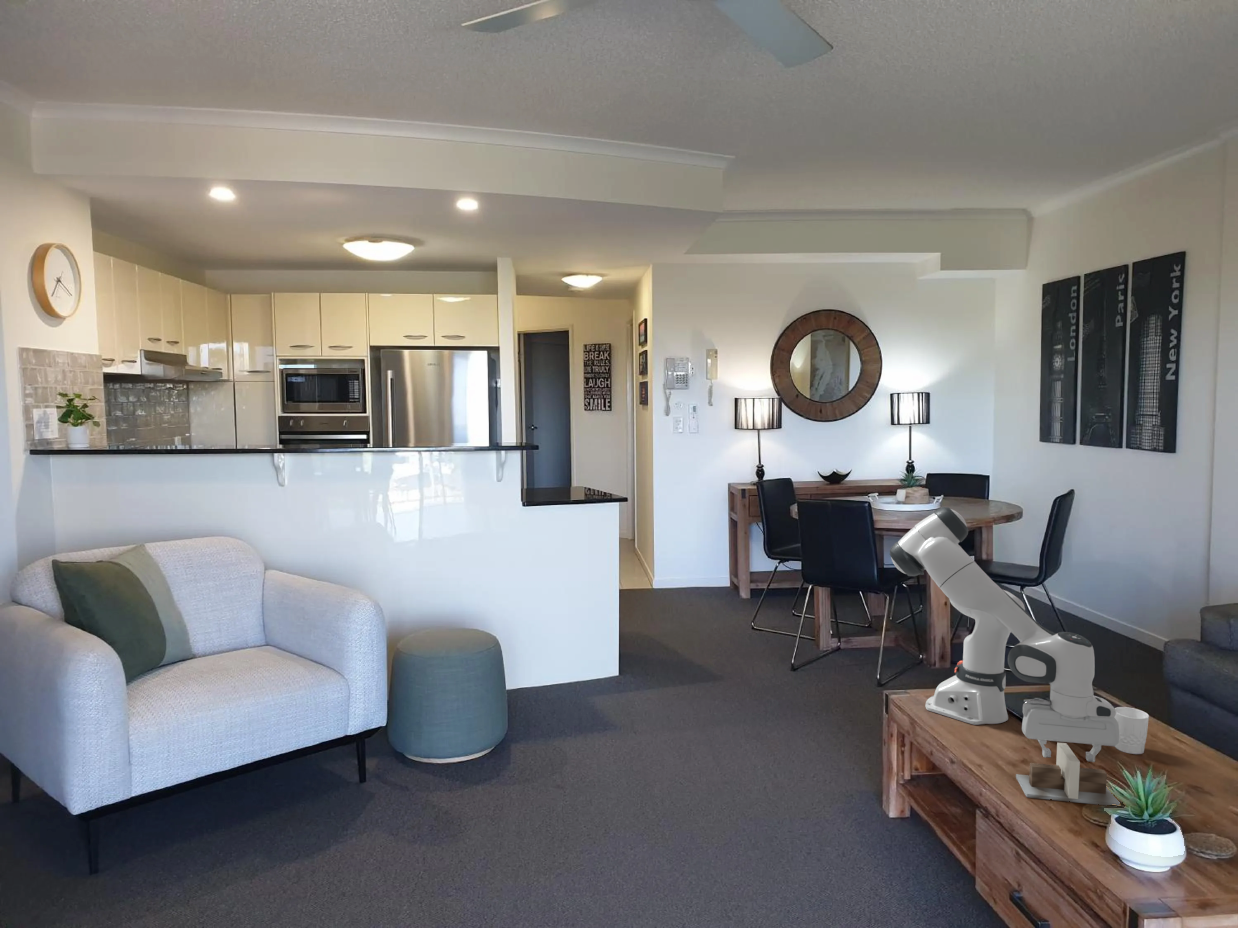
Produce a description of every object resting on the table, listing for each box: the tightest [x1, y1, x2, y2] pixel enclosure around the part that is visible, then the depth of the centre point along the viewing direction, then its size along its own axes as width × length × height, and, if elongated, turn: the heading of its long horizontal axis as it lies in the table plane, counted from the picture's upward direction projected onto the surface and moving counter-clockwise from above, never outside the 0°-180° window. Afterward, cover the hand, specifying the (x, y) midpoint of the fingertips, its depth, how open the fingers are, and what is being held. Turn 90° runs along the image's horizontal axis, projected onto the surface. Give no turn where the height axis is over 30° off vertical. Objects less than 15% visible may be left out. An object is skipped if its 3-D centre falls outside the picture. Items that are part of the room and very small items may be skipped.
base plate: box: [1015, 762, 1121, 806], centre depth 190 cm, size 20×10×6 cm, turn 77°
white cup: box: [1114, 706, 1150, 755], centre depth 212 cm, size 8×8×10 cm
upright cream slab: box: [1055, 742, 1081, 799], centre depth 189 cm, size 10×2×9 cm, turn 167°
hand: (1068, 758), depth 189 cm, fingers open, 8 cm apart
